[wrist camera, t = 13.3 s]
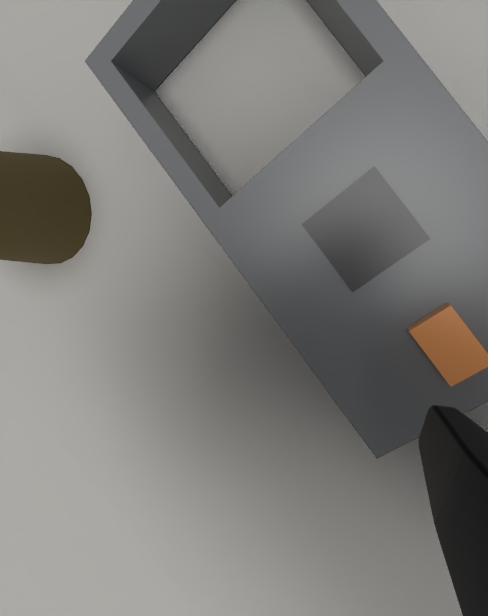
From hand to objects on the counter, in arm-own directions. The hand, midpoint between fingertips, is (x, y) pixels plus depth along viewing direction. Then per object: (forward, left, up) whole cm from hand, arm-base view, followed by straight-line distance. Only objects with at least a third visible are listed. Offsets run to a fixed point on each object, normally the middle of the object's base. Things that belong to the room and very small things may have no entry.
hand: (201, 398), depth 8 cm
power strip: (+4, -4, -12) cm, 13 cm away
